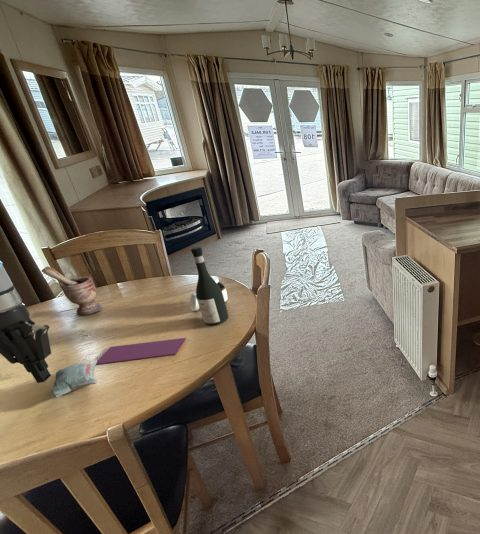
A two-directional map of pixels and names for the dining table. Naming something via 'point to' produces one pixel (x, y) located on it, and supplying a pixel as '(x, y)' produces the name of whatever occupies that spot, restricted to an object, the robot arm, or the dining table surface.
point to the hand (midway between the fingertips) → (44, 379)
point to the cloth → (141, 351)
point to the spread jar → (193, 299)
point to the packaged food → (74, 378)
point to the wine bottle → (208, 293)
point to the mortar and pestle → (77, 291)
